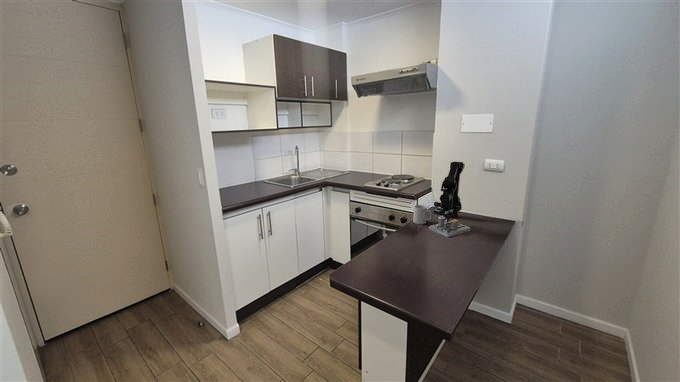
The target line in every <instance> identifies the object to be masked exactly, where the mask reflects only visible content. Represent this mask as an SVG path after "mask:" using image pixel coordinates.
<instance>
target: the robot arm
mask: <svg viewBox="0 0 680 382" xmlns="http://www.w3.org/2000/svg"><path fill="white" fill-rule="evenodd" d="M465 165H466V164H465V163H464V162H463V161H452V162H450V165H449V168H450V169H449V171H448V174H447V176H446V177H444V180H442V183H441V186H440V192H442V194H440V196H439V200H440V201H434V202H433V206H434V207H435V208H434V209H433V214H435V215H438V216H444V217H445V223H447V222H448V221H450V219H458V218H460V217H461V216H460V215H459V214H460V213H459V212H461V210H462V209H463V208H462V202H461V198H460V195H459V189H460V178H461V174H462V173H463V171H464V169H465Z"/></svg>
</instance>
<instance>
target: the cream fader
mask: <svg viewBox="0 0 680 382" xmlns="http://www.w3.org/2000/svg"><path fill="white" fill-rule="evenodd" d="M437 218H438V223H437V224H438V225H440V226H443V225H444V222H445V217H444V216H443V215H439V216H438V217H437Z"/></svg>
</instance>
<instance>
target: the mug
mask: <svg viewBox="0 0 680 382" xmlns="http://www.w3.org/2000/svg"><path fill="white" fill-rule="evenodd" d="M427 213H429V217H427ZM432 216H433V214H432V210H430V209H428V208H427V206H426V205H422V204H420V205H419V204H417V205H414V206H413V216H412V217H413V219H412V221H413V223H414V224H417V225H425V224H427V221H429V220H431V219H432Z"/></svg>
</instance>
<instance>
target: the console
mask: <svg viewBox="0 0 680 382" xmlns="http://www.w3.org/2000/svg"><path fill="white" fill-rule="evenodd" d="M428 230H429V231H433V232H434V233H437V234H439V235H441V236H444V237H446V238H449V237H453V236H457V235H459V234H463V233H466V232H467V233H468V232H469V231H471V227H469V226H468V225H464V224H462V223H459V222H457V229H451V220H449V221H448V222H447V223H445V222H444V225H443V226H440V225H438V223H437V224H432V225H429V226H428Z"/></svg>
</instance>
